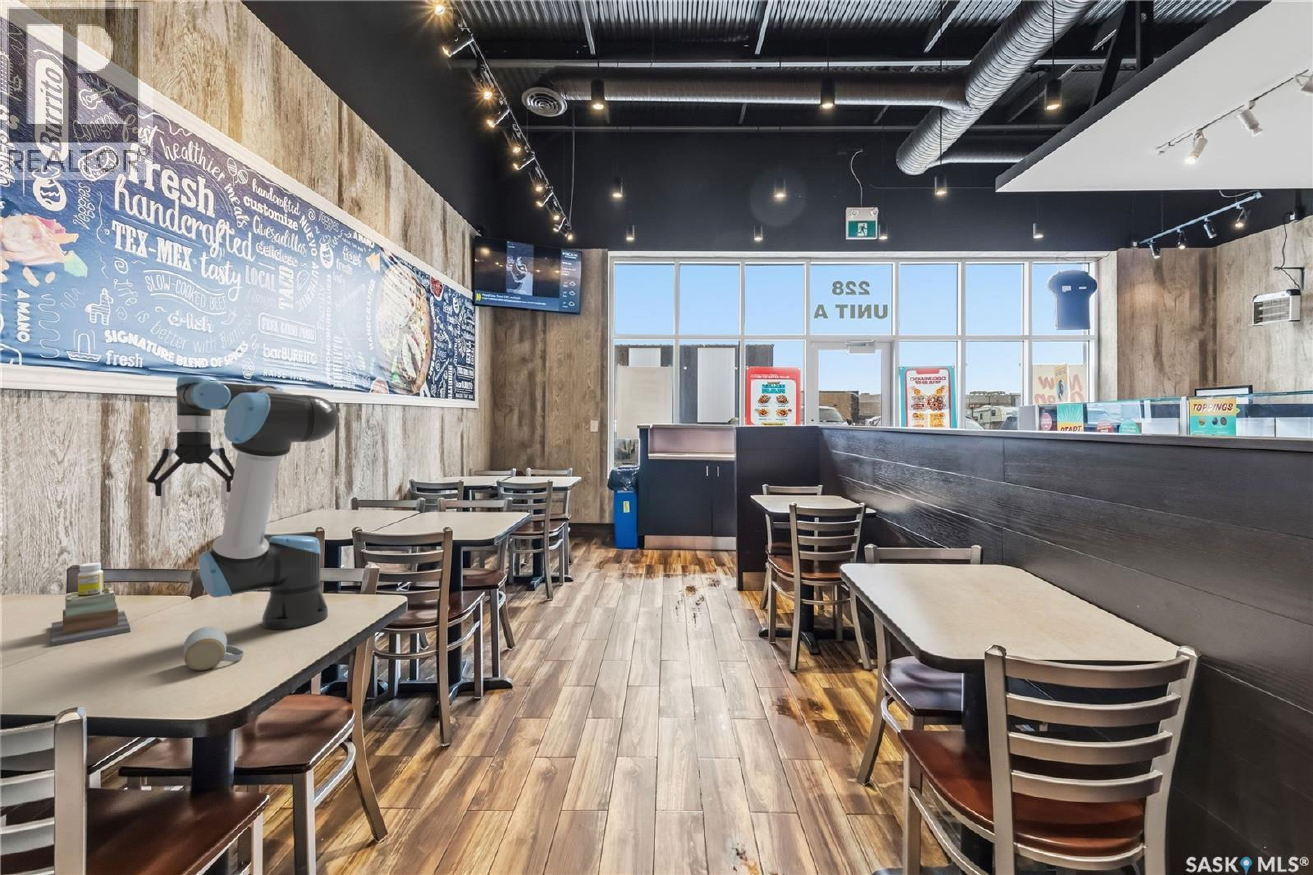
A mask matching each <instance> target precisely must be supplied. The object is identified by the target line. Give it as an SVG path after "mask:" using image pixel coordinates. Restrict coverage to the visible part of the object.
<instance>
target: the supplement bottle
mask: <svg viewBox="0 0 1313 875" xmlns="http://www.w3.org/2000/svg"><path fill="white" fill-rule="evenodd" d="M103 588H104V570H102V562H88V563H87V562H86V563H83V564H80V565H79V573H78V574H77V592H78V598H79V597H86V596H93V595H100V594H103V593H104V589H103Z"/></svg>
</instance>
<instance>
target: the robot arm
mask: <svg viewBox="0 0 1313 875" xmlns="http://www.w3.org/2000/svg"><path fill="white" fill-rule="evenodd" d="M175 391H176V430H178V431H177V433H176V448H174V449H170V448H163V449H162V450H161V455H160V457H159V459H158V461H157V462H156V464H155V465H154V467H153V468H152V470H151V472H150V473H149V474H148V475H147V477H146V478H145V479H146V480H145V481H146V482H147V483H149V484H153V485H154V495H155V496H156V497H160V500H159V501H160V509H166V484H165V483H163V482H165V481H166V480H167V479H168V478H169V477H170V476H171V475H172V474H173V473H174V472H175V471H176V470H178V468H179V467H181V466H182V465H183V464H186V465H193V464H199V465H200V464H204V463H205V464H207V466H209V467H210V468H211V469H212V470H214V472H216V474H218V475H219V476H220V477H221V478H222V479H223V480H221V487H220V488H221V504H222V505H226V504H227V508H226V514H225V518H224V523H223V524H224V525H223V529H222V534H221V535H220V536H218V537H217V538H215V539H214V541H213V543H212V546H211V550H205V551H203V552H202V553H201V554H200V555H199V558H198V570H199V576H200V580H201V583H202V585H203V588H204V590H205V592H206V593H207V594H208V595H209V596H210V597H212V598H221V597H232V596H233V595H234V596H235V595H239V594H245V593H250V592H254V591H259V590H264V589H265V590H266V589H269V591H270V592H269V598H268V601H267V603H266V606H265V609H264V612H263V614H262V618H261V620H262V621H261V622H262V625H261V626H262V627H263V628H265V629H269V630H287V629H295V628H296V629H297V628H301V627H306V626H310V625H314V624H317V623H319V622H322V621H324V620H325V619H327V618H328V616H329V614H328V612H329V609H328V605H327V603H326V601H325V600H326V599H325V598H324V594H323V591H322V590H321V554H322V552H321V543H320V540H319V539H318V538H317V537H315V536H309V535H297V534H296V535H293V534H292V535H291V534H290V535H289V534H287V535H286V534H285V535H273V536H271V537H270V538H269V539H268V540H267V538H265V534H266V530H267V524H268V520H269V517H270V516H269V515H270V511H271V506H272V501H273V497H274V492H275V487H276V484H277V478H278V473H279V467H280V463H281V459H282V457H284V456H286V455H288V454H290V452H291V446H292V444H293V443H306V442H307V443H309V442H311V443H312V442H316V441H319V440H322V439H324V438H326V437H328V436H329V435H330V434H331V433H332V432H334V430H335V429H336V428H337V426H338V423H339V413H338V410H337V408H336V406H335V405H334V403H332V402H331V401H330V400H329V399H326V398H324V397H320V396H317V395H316V396H315V395H309V394H293V393H290V392H286V391H284V389H283V388H282V387H280V386H274V385H260V384H239V383H231V382H229V383H226V382H218V381H215V380H213V381H212V380H210V378H208V377H205V376H194V375H186V376H184V375H182V376H179V377H177V379H176V387H175ZM211 410H214V411H215V410H219V411H225V415H224V419H223V423H224V426H223V430H224V431H223V432H224V436H225V438H226V439H227V441H229V442H230V443H231V447H232V448H233V449H234V451H236V452H237V456H236V461H235V466H233V464H232V463H231V462H230V460H229V459H228V457H227V454H226V450H225V447H219V448H212V433H211V432H210V430H212V422H211V421H212V420H211V419H212V418H211V416H212V415H211V414H212V412H211ZM173 454H175V456H177V458H178V459H176V461H174V463H173V464H172V465H170V466H169V468H167V469H166V470H165V471H164V472H163V473H162V474H161V475H160V476H159V477H158V478H157V479H156V477H157V476H158V474H159V472H160V470H161V469H162V468H163V466H164V464H166V461H167V460H168V459H169V457H170V458H171V456H172V455H173ZM213 454H215V455H216V456H218V457H219V459H220V460H221V462H222V463H223V465H224V467H225V469H227V471H228V473H229V474H230V475H228V473H227V472H225V471H224V470H223V469H222V468H221V467H220V466H218V465H217V464H216V462H214V461H213V460H212V459H211V458H210V457H211V456H212V455H213ZM227 493H229V498H228V501H227V497H228V496H227V495H228V494H227Z"/></svg>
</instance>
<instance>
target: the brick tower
mask: <svg viewBox="0 0 1313 875" xmlns="http://www.w3.org/2000/svg"><path fill="white" fill-rule="evenodd" d="M103 589H104V593H103V594H100V595H93V596H86V597H79V598H78V591H75V592H74V591H73V592H66V593H65V594H66V596H65V603H64V604H65V605H64V606H65V607H64V608H65V609H62V620H61V621H60V620H59V621H54V622H51V630H50V631H51V632H50V636H51V638H50V643H51V644H50V645H51V646H50V647H56V646H61V645H66V644H71V643H77V642H76V641H78V642H82V641H88V640H89V641H90V640H94V639H98V638H103V637H102V636H105V637H110V636H115V634H116V635H120V634H119V633H121V634H125V633H124V632H126V633H130V632H131V625H130V623H129V621H128V618H127V615H126V612H125V610H121V611H119V608H118V605H117V603H116V602H117V601H116V595H115V591H114V588H113V586H110V587H103Z"/></svg>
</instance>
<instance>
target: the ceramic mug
mask: <svg viewBox="0 0 1313 875" xmlns="http://www.w3.org/2000/svg"><path fill="white" fill-rule="evenodd" d="M244 655H245V652H244V650H242V649H241V648H239V647H237V646H234V645H230V644H228V638H227V634H226V633H225V632H224V631H223V629H220V628H218V627H215V626H203V627H199V628H197V629H195V630H194V631H192V632H191V633H190V634H189V635H188V636H187V638H186V639H185V641H184V644H183V661H184V664H186V666H187V667H188V668H190V669H191V670H193V671H208V670H210V669H212V668H214V667H216V666H218V665H219V664H220V662H221V661H225V662H231V663H235V662H240V661H242V659H243V657H244Z"/></svg>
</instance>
